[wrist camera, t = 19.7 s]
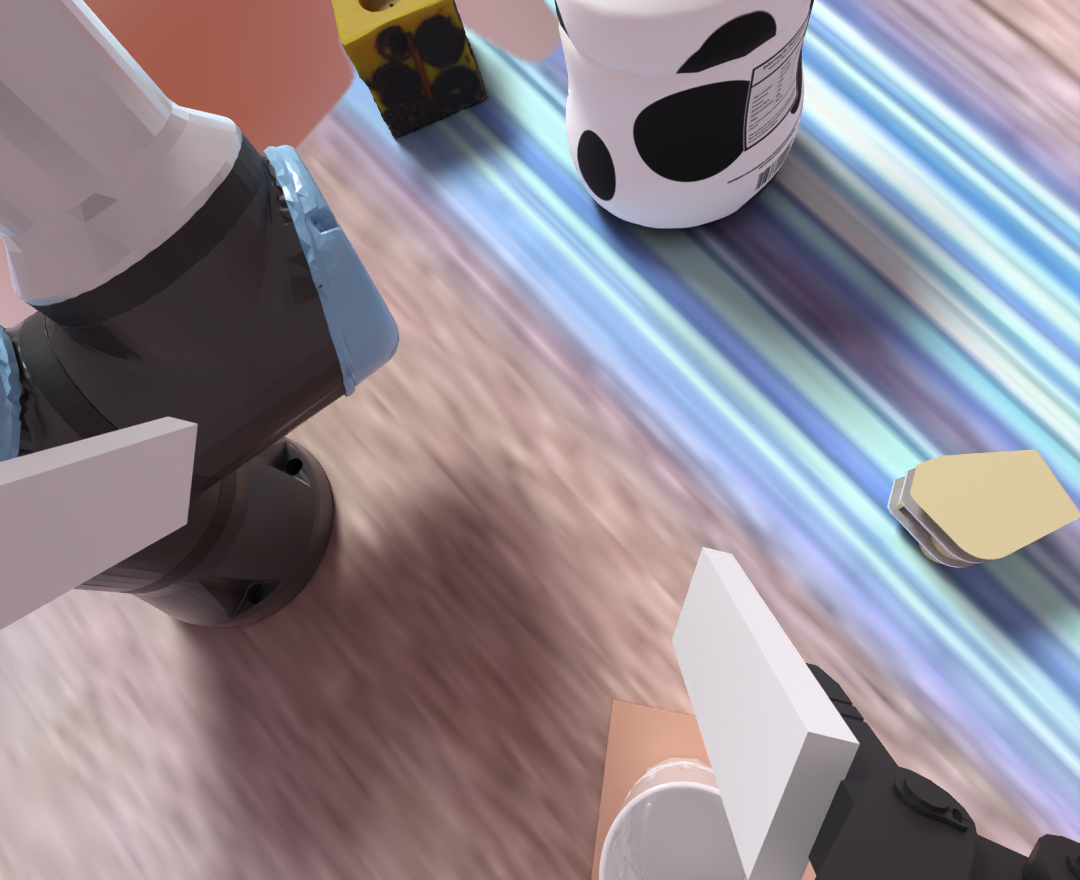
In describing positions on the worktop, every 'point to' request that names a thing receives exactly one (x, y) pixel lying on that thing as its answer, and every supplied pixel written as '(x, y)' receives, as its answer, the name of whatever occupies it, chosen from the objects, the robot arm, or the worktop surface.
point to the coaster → (644, 758)
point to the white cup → (672, 828)
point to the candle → (410, 58)
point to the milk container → (681, 102)
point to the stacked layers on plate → (980, 505)
